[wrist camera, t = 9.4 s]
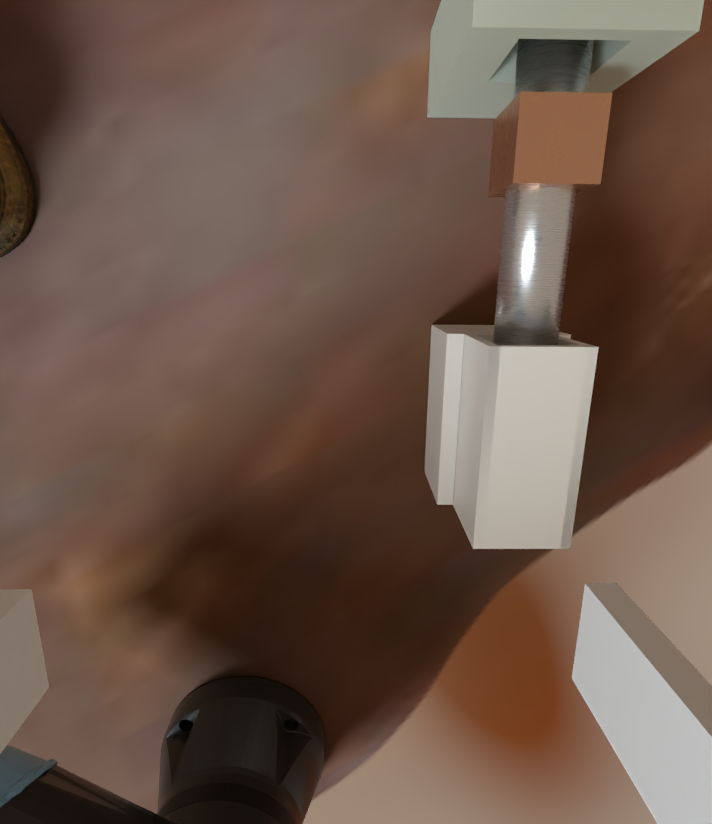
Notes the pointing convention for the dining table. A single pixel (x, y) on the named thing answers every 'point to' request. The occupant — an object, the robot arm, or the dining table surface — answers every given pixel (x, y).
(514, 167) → the tube
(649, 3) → the socket block
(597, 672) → the robot arm
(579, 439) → the sleeve
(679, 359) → the dining table surface
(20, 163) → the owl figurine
